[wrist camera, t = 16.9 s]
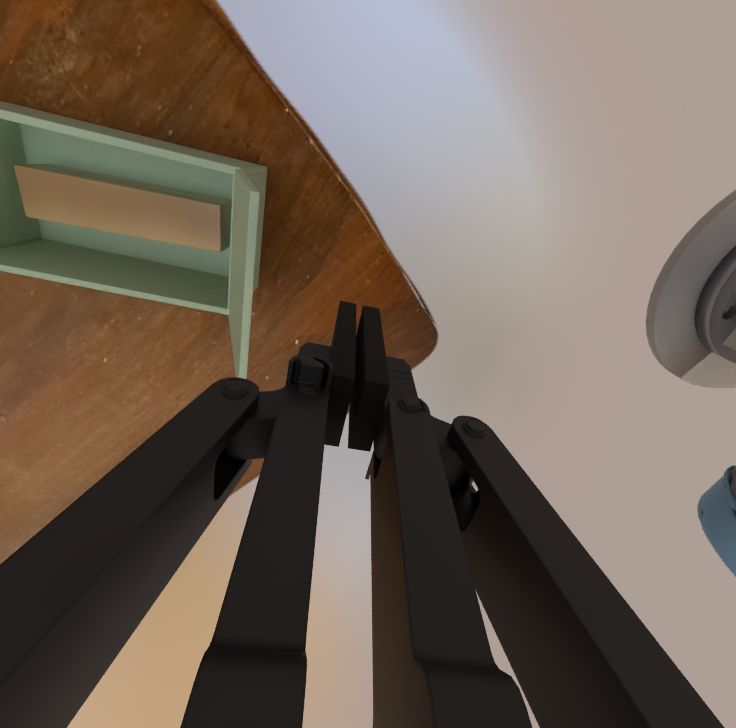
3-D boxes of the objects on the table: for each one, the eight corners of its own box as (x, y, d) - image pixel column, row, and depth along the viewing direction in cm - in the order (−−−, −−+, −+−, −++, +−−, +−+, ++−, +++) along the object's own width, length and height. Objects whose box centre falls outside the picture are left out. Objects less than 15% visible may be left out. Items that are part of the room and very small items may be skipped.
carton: (267, 166, 29) (241, 168, 22) (258, 286, 34) (233, 316, 27) (13, 103, 26) (-100, 84, 20) (41, 241, 31) (-43, 262, 25)
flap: (234, 168, 22) (241, 170, 22) (228, 319, 26) (234, 319, 26) (249, 190, 15) (260, 192, 15) (237, 390, 19) (245, 390, 19)
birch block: (234, 244, 31) (220, 252, 28) (59, 211, 30) (25, 217, 27) (234, 200, 30) (220, 205, 26) (50, 163, 28) (12, 163, 25)
